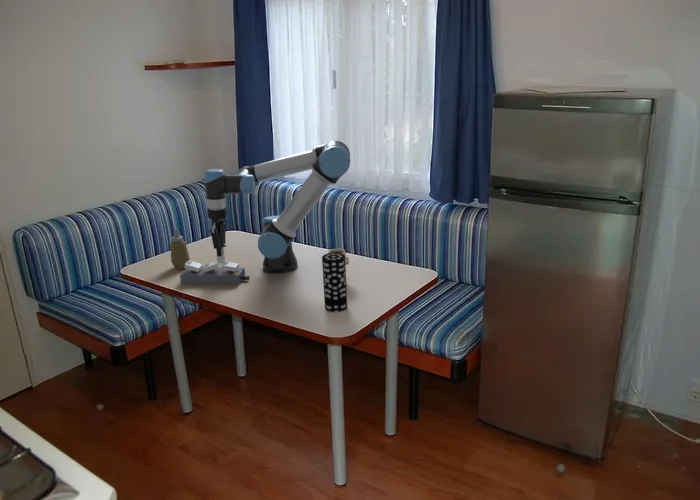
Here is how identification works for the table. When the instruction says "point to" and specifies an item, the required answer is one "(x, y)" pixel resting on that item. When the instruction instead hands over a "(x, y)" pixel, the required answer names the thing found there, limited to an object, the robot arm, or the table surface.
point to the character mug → (341, 253)
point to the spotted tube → (334, 282)
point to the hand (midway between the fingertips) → (221, 262)
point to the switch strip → (213, 277)
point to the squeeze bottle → (179, 251)
